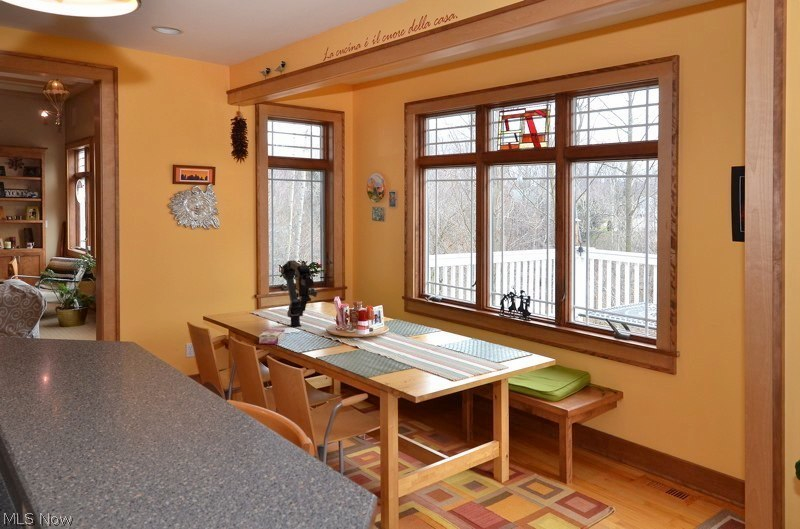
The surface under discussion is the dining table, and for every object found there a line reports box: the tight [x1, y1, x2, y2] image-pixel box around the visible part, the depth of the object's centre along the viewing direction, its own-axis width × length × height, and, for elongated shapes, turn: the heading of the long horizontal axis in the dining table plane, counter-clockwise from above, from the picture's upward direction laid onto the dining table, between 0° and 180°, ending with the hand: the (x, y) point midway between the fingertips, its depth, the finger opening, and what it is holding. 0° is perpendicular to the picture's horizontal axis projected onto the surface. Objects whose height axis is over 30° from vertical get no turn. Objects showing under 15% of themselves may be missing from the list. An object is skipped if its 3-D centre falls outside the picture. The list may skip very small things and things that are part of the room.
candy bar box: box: [258, 328, 286, 345], centre depth 368 cm, size 11×5×16 cm
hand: (303, 310), depth 394 cm, fingers closed
